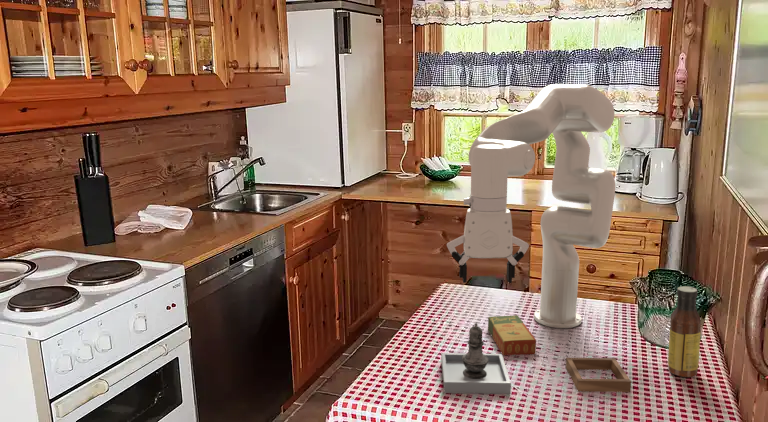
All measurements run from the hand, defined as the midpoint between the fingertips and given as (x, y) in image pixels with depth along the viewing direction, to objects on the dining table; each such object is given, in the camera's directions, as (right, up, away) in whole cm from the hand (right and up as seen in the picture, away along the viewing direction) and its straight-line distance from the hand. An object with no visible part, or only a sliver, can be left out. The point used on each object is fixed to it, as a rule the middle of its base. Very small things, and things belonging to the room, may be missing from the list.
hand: (486, 280), depth 135 cm
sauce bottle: (+45, -22, +6) cm, 50 cm away
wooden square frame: (+25, -22, +3) cm, 33 cm away
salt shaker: (-2, -21, +4) cm, 22 cm away
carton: (+10, -18, +23) cm, 31 cm away
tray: (-2, -22, +4) cm, 23 cm away
